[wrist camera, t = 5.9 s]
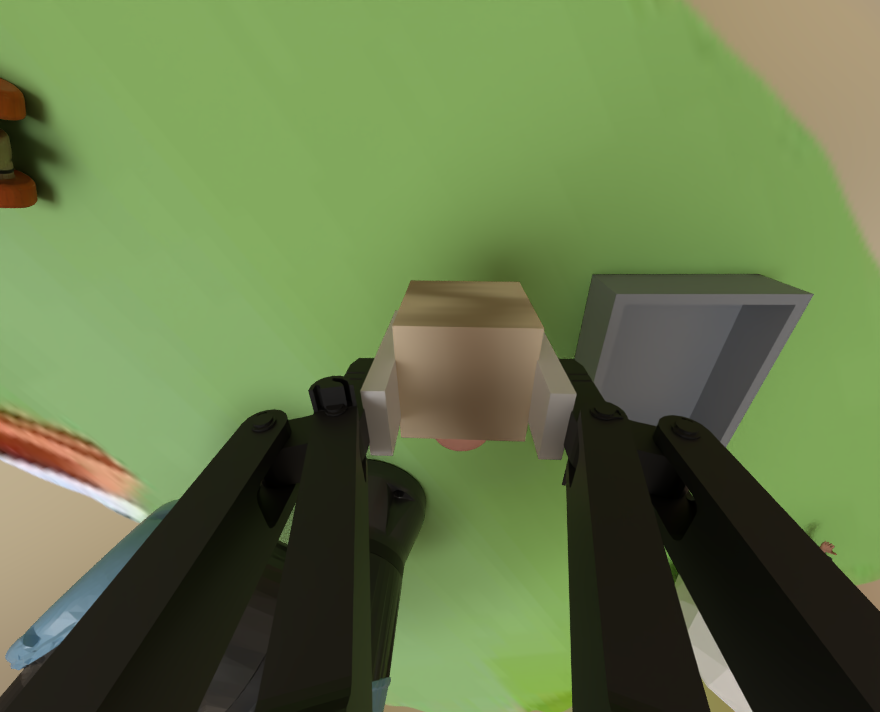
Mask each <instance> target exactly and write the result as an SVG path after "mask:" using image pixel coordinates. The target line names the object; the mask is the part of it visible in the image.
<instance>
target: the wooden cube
mask: <svg viewBox="0 0 880 712" xmlns="http://www.w3.org/2000/svg"><path fill="white" fill-rule="evenodd" d="M392 330H393V342H394V354H395V361H396V371H397V381H398V391H399V401H400V411H401V421H400V429H401V437H403V438H433V439H464V440H494V441H524V442H525V437H526V432H527V426H528V417H529V410H530V404H531V397H532V390H533V384H534V377H535V370H536V364H537V360H539V357H540V351H541V345H542V340H543V334H544V327H543V325H542V323H541V321H540V320H539V318H538V316H537V314H536V312H535V310H534V308H533V306H532V305H531V303H530V301H529V299H528V297H527V295H526V293H525V291H524V290H523V288H522V286H521V284H520V282H480V281H410V284H409V286H408V289H407V291H406V293H405V296H404V298H403V301H402V303H401V306H400V308H399V311H398V313H397V315H396V318H395V320H394V323H393V325H392Z"/></svg>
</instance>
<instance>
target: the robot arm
mask: <svg viewBox="0 0 880 712" xmlns="http://www.w3.org/2000/svg"><path fill="white" fill-rule="evenodd" d="M398 311H399V310H395V313H394V315H393V317H392V320H391V322H390V324H389V326H388V329H387V331H386V333H385V336H384V338H383V340H382V342H381V345H380V347H379V349H378V352H377V354H376V356H375V358H359V359H357V360H356V361H355V362H353V363H352V364H351V365H350V366H349V368H348V370H347V372H346V374H345V376H330V377H326V378H323V379H321V380H318V381H316V382H315V383H314V384H313V385H311V387H310V388H309V390H308V391H309V395H310V398H311V402H312V406H313V410H314V414H313V415H310V416H306V417H302V418H297V419H292V420H288V418H287V415H286V413H284V412H283V411H281V410H265V411H262V412H259V413H256V414H255V415H253V416H251V417H249V418H248V419H247V420H246V421H244V422H243V423H242V424H241V426H240V427H239V428H238V429H237V430H236V432H235V433H234V434H233V435H232V437H231V438H230V439H229V440H228V441H227V443H226V444H225V445H224V446H223V447H222V449H221V450H220V451H219V452H218V453H217V455H216V456H215V457H214V458H213V459H212V461H211V462H210V463H209V464H208V466H207V467H206V468H205V469H204V470H203V472H202V473H201V474H200V475H199V476H198V478H197V479H196V480H195V481H194V482H193V484H192V485H191V486H190V487H189V488H188V490H187V491H186V492H185V493H184V495H183V496H182V497H181V498H180V499H178V500H173V501H171V502H168V503H166V504H164V505H162V506H161V507H159V508H158V509H157V510H155V511H154V512H153V513H152V514H151V515H149V516H148V517H147V518H146V519H145V520H144V521H142V522H141V523H140V524H139V525H138V526H137V527H136V528H135V529H133V530H132V531H131V532H130V533H129V534H128V535H127V536H126V537H125V538H123V539H122V540H121V541H120V542H119V543H118V544H117V545H116V546H115V547H114V548H113V549H111V550H110V551H109V552H108V553H107V554H106V555H105V556H104V557H103V558H102V559H101V560H100V561H99V562H97V563H96V565H94V566H93V567H92V568H91V569H90V570H89V571H88V572H87V573H86V574H85V575H84V576H83V577H81V579H79V580H78V581H77V582H76V583H75V584H74V585H73V586H72V587H71V588H70V589H69V590H68V591H67V592H66V593H65V594H64V595H63V596H62V597H60V599H58V600H57V601H56V602H55V603H54V604H53V605H52V606H51V607H50V608H49V609H48V610H47V611H46V612H45V613H44V614H43V615H42V616H41V617H40V618H39V619H38V620H37V621H36V622H35V623H34V624H33V625H32V626H31V627H30V629H28V631H27V632H26V633H25V634H24V635H23V636H21V637H20V638H19V639H18V640H17V641H16V642H15V643H14V644H13V645H12V646H11V647H10V648H9V650H8V651H7V653H6V660H7V661H8V662H10V663H11V669H17V670H20V669H22V668H24V670H23V671H22V672H21V673H20V674H19V676H18V677H17V678H16V679H15V680H14V681H13V683H12V684H11V685H10V686H9V687H8V689H7V690H6V691H5V692H4V693H3V694H2V696H1V697H0V712H383V710H384V705H385V700H386V695H387V690H388V686H389V685H390V682H391V677H389V676H390V668H391V661H392V653H393V646H394V638H395V631H396V623H397V616H398V609H399V601H400V594H401V586H402V578H403V571H404V565H405V562H406V560H407V557H408V555H409V553H410V551H411V549H412V547H413V544H414V542H415V540H416V538H417V536H418V534H419V531H420V529H421V527H422V525H423V521H424V516H425V507H426V498H425V494H424V492H423V490H422V488H421V486H420V485H419V484H418V482H417V481H416V480H415V479H414V478H413V477H411V476H410V475H409V474H407V473H406V472H404V471H403V470H401V469H399V468H397V467H395V466H392V465H390V464H386V463H383V462H379V461H373V460H367V458H366V453H367V450H368V446H370V452H371V455H383V456H393V452H394V448H395V443H396V439H397V435H398V430H399V426H400V421H401V411H400V401H399V391H398V381H397V371H396V361H395V354H394V342H393V330H392V325H393V323H394V320H395V318H396V315H397V313H398ZM528 423H529V426H530V430H531V433H532V437H533V441H534V444H535V448H536V452H537V455H538V459H553V460H561V459H562V455H563V451H564V448H565V450H566V453H567V456H568V462H567V466H566V470H565V474H564V478H563V482H562V485H566V496H567V531H568V567H569V602H570V637H571V673H572V708H573V712H710V708H709V705H708V701H707V697H706V694H705V690H704V687H703V683H702V680H701V676H700V673H699V669H698V665H697V662H696V658H695V655H694V651H693V648H692V644H691V641H690V637H689V633H688V630H687V626H686V623H685V619H684V616H683V612H682V609H681V605H680V601H679V598H678V594H677V591H676V587H675V584H674V580H673V577H672V573H671V569H670V566H669V562H668V559H667V555H666V552H665V548H666V550H667V552H668V554H669V556H670V558H671V560H672V562H673V563H674V565H675V567H676V569H677V571H678V573H679V575H680V577H681V579H682V580H683V582H684V584H685V586H686V588H687V590H688V592H689V594H690V595H691V597H692V599H693V601H694V603H695V605H696V607H697V609H698V610H699V612H700V614H701V616H702V618H703V620H704V622H705V624H706V625H707V627H708V629H709V631H710V633H711V635H712V637H713V639H714V640H715V642H716V644H717V646H718V648H719V650H720V652H721V654H722V655H723V657H724V659H725V661H726V663H727V665H728V667H729V669H730V670H731V672H732V674H733V676H734V678H735V680H736V682H737V684H738V685H739V687H740V689H741V691H742V693H743V695H744V697H745V699H746V700H747V702H748V704H749V706H750V708H751V710H752V712H880V611H879V610H878V609H877V608H876V607H875V606H874V605H873V604H872V603H871V602H870V601H869V600H868V599H867V597H866V596H865V595H864V594H863V593H862V592H861V591H860V590H859V589H858V588H857V587H856V586H855V585H854V584H853V583H852V582H851V580H850V579H849V578H848V577H847V576H846V575H845V574H844V573H843V572H842V571H841V570H840V569H839V568H838V567H837V566H836V565H835V563H834V562H833V561H832V560H831V559H830V558H829V557H828V556H827V555H826V554H825V553H824V552H823V551H822V550H821V549H820V547H819V546H818V545H817V544H816V543H815V542H814V541H813V540H812V539H811V538H810V537H809V536H808V535H807V534H806V533H805V532H804V530H803V529H802V528H801V527H800V526H799V525H798V524H797V523H796V522H795V521H794V520H793V519H792V518H791V517H790V516H789V515H788V513H787V512H786V511H785V510H784V509H783V508H782V507H781V506H780V505H779V504H778V503H777V502H776V501H775V500H774V499H773V498H772V496H771V495H770V494H769V493H768V492H767V491H766V490H765V489H764V488H763V487H762V486H761V485H760V484H759V483H758V482H757V480H756V479H755V478H754V477H753V476H752V475H751V474H750V473H749V472H748V471H747V470H746V469H745V468H744V467H743V466H742V465H741V463H740V462H739V461H738V460H737V459H736V458H735V457H734V456H733V455H732V454H731V453H730V452H729V451H728V450H727V449H726V448H725V446H724V445H723V444H722V443H721V442H720V441H719V440H718V439H717V438H716V437H715V436H714V435H713V434H712V433H711V432H710V431H709V430H708V429H707V428H706V427H704V426H703V425H702V424H700V423H698V422H696V421H694V420H692V419H689V418H686V417H683V416H676V415H668V416H664V417H662V418H660V419H659V421H658V424H657V426H654V425H649V424H645V423H640V422H636V421H632V420H629V419H628V417H627V415H626V413H625V412H624V411H623V410H622V409H621V408H619V407H618V406H616V405H614V404H612V403H610V402H606V401H605V400H604V398H603V397H602V395H601V393H600V392H599V390H598V389H597V387H596V385H595V384H594V382H592V379H591V378H590V376H589V375H588V373H587V371H586V370H585V368H584V366H583V365H581V364H580V363H578V362H577V361H576V360H574V359H558V357H557V356H556V354H555V352H554V350H553V348H552V346H551V344H550V342H549V340H548V338H547V336H546V335H545V333H544V334H543V340H542V345H541V351H540V357H539V360H537V364H536V370H535V377H534V384H533V390H532V397H531V404H530V410H529V417H528ZM689 491H690V492H691V493H690V492H689ZM691 494H692V495H693V496H692V495H691ZM295 503H296V506H295V511H294V516H293V521H292V527H291V532H290V537H289V542H288V545H287V544H285V543H283V542H281V541H279V540H278V539H279V537H280V535H281V533H282V531H283V529H284V526H285V524H286V522H287V520H288V518H289V516H290V514H291V512H292V509H293V507H294V505H295ZM664 547H665V548H664Z"/></svg>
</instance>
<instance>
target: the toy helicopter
mask: <svg viewBox="0 0 880 712" xmlns="http://www.w3.org/2000/svg"><path fill="white" fill-rule="evenodd" d="M25 116H26V108H25V99H24V96H23V93H22V92H21V91H20V90H19V89H18V88H17V87H16V86H14V85H13V84H11V83H9V82H8V81H6V80H4V79H2V78H0V119H4V120H21V119H24V118H25ZM11 159H12V150H11V145H10V139H9V136H8V135H7V133H6V132H5V131H3V130H2V129H0V208H26V207H30V206H32V205H34V204H35V203H36V202H37V191H36V184H35V182H34V181H33V180H32V179H31V178H30V177H29V176H27V175H26V174H24V173H22V172H20V171H18V170H15V169H14V167H13V163H12V160H11Z"/></svg>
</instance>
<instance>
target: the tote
mask: <svg viewBox="0 0 880 712" xmlns="http://www.w3.org/2000/svg"><path fill="white" fill-rule="evenodd" d="M813 295H814V294H812V293H809V292H806V291H804V290H801V289H798V288H795V287H793V286H790V285H787V284H784V283H782V282H779V281H776V280H773V279H771V278H768V277H765V276H762V275H760V274H593V276H592V280H591V285H590V289H589V294H588V299H587V303H586V308H585V312H584V317H583V322H582V326H581V331H580V336H579V340H578V345H577V349H576V354H575V359H574V360H576V361H577V362H578V363H580V364H581V365H583V366H584V368H585V370H586V371H587V373H588V375H589V376H590V378H591V379H592V382H594V384H595V385H596V387H597V389H598V390H599V392H600V393H601V395H602V397H603V398H604V400H605V401H606V402H610V403H612V404H614V405H616V406H618V407H619V408H621V409H622V410H623V411H624V412H625V413H626V415H627V417H628V419H629V420H632V421H636V422H640V423H645V424H649V425H654V426H657V424H658V421H659V419H660V418H662V417H664V416H668V415H676V416H683V417H686V418H689V419H692V420H694V421H696V422H698V423H700V424H702V425H703V426H704V427H706V428H707V429H708V430H709V431H710V432H711V433H712V434H713V435H714V436H715V437H716V438H717V439H718V440H719V441H720V442H721V443H722V444H723V445H724V446H725V448H726V446H727V445H728V443H729V441H730V439H731V438H732V436H733V434H734V432H735V431H736V429H737V427H738V425H739V424H740V422H741V420H742V418H743V417H744V415H745V413H746V411H747V410H748V408H749V406H750V404H751V403H752V401H753V399H754V398H755V396H756V394H757V392H758V391H759V389H760V387H761V385H762V384H763V382H764V380H765V378H766V377H767V375H768V373H769V371H770V370H771V368H772V366H773V364H774V363H775V361H776V359H777V357H778V356H779V354H780V352H781V350H782V349H783V347H784V345H785V344H786V342H787V340H788V338H789V337H790V335H791V333H792V331H793V330H794V328H795V326H796V324H797V323H798V321H799V319H800V317H801V316H802V314H803V312H804V310H805V309H806V307H807V305H808V303H809V302H810V300H811V298H812V296H813Z"/></svg>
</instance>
